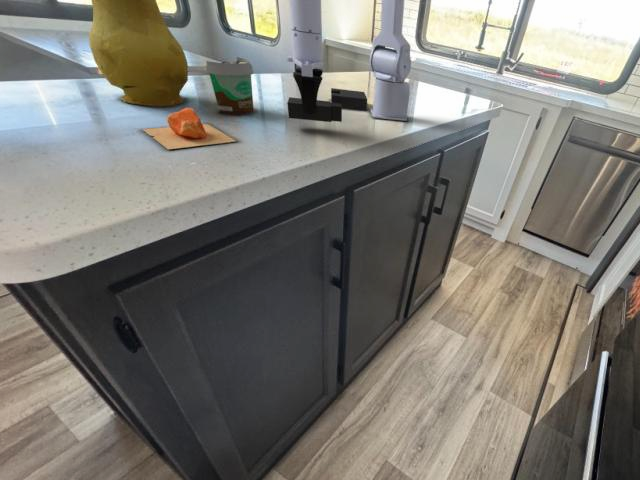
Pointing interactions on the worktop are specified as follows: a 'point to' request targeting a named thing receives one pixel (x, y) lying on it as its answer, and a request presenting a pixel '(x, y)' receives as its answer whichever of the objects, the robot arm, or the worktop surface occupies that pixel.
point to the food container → (232, 86)
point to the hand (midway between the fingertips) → (310, 110)
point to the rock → (187, 131)
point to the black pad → (323, 111)
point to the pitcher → (138, 52)
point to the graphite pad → (349, 99)
